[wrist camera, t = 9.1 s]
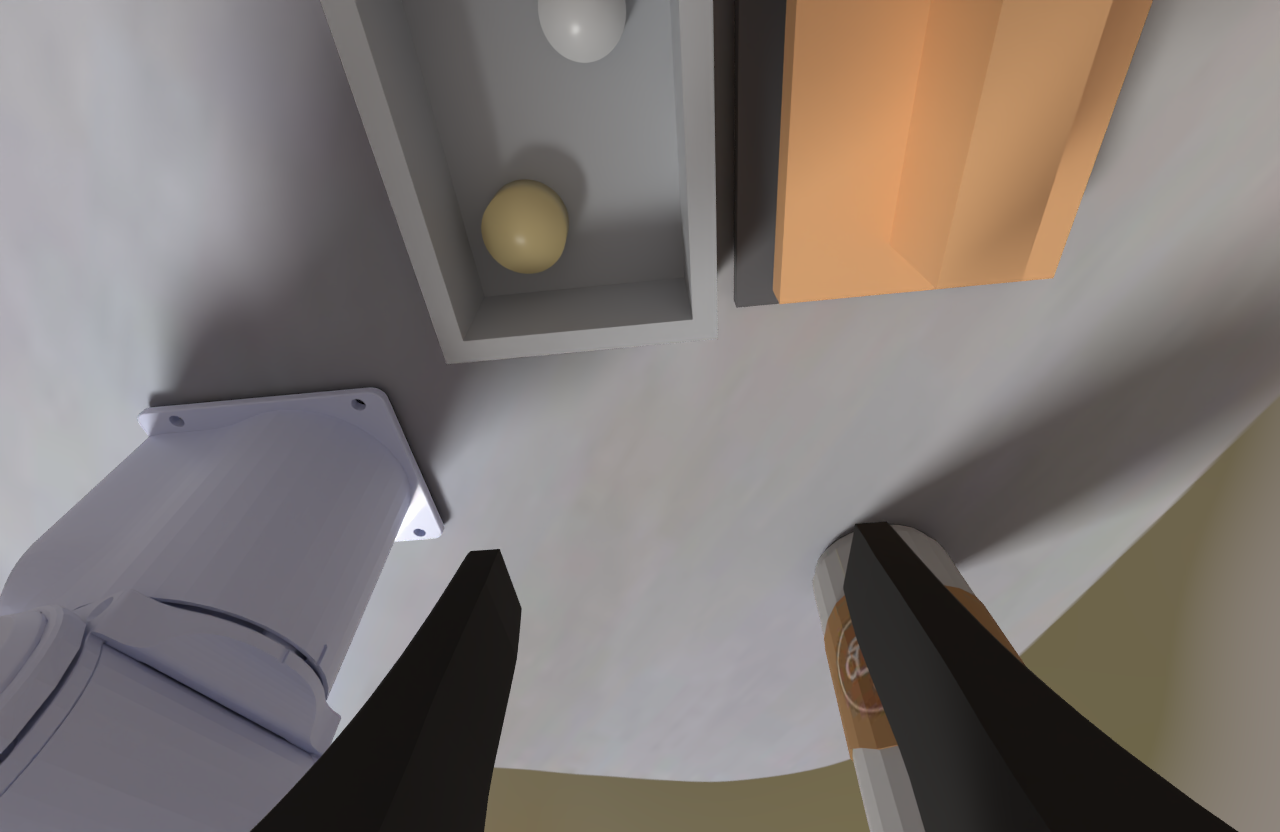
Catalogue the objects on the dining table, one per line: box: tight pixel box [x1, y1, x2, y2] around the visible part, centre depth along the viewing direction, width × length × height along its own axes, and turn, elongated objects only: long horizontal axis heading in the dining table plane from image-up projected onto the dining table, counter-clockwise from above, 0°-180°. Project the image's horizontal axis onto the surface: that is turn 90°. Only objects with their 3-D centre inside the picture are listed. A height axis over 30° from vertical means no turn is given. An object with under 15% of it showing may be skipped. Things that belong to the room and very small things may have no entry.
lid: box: [773, 0, 1153, 304], centre depth 13 cm, size 8×11×5 cm
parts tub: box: [320, 0, 718, 364], centre depth 15 cm, size 8×11×4 cm
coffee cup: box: [813, 525, 1025, 832], centre depth 22 cm, size 8×8×15 cm
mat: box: [734, 0, 787, 307], centre depth 15 cm, size 10×13×1 cm
